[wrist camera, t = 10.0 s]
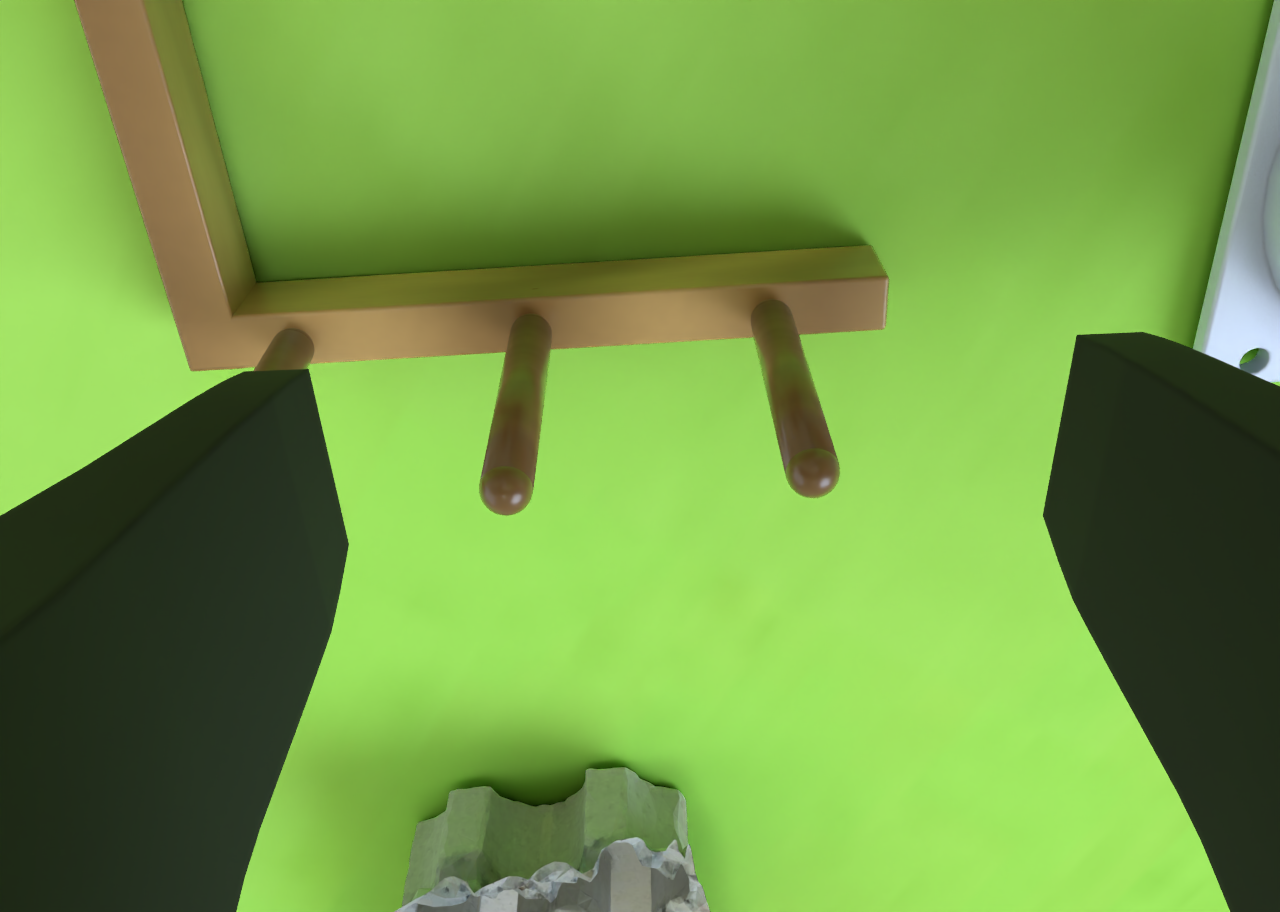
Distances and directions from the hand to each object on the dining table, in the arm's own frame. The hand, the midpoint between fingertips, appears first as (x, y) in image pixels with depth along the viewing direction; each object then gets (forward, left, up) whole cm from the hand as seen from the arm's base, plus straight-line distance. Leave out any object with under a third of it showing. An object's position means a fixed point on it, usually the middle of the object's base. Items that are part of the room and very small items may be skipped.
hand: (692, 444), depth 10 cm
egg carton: (+3, +20, -10) cm, 22 cm away
